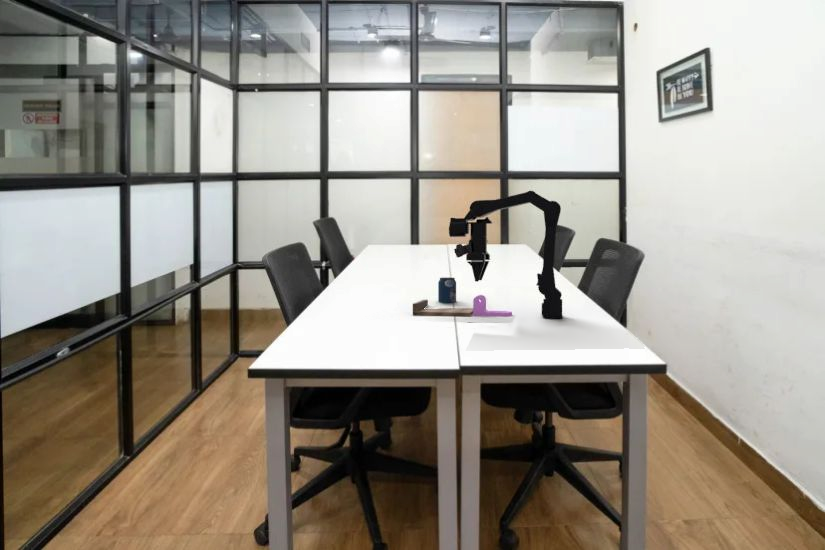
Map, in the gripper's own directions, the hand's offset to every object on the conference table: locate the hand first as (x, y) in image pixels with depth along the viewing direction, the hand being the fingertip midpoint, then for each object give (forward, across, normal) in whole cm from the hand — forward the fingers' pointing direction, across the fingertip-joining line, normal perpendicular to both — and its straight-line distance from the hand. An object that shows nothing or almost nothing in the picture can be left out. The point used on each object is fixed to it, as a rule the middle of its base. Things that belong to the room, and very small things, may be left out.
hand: (478, 280), depth 205 cm
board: (+12, 0, -12) cm, 17 cm away
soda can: (+12, -17, -14) cm, 25 cm away
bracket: (+12, +3, +6) cm, 14 cm away
